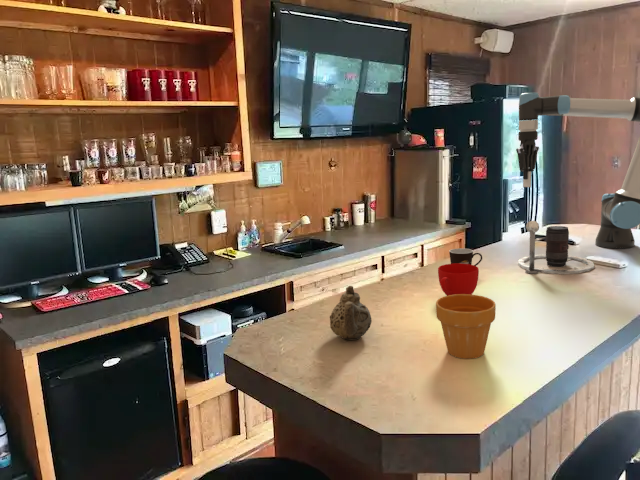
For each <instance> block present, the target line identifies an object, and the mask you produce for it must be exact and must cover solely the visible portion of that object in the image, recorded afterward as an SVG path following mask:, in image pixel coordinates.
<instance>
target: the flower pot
mask: <svg viewBox="0 0 640 480" xmlns="http://www.w3.org/2000/svg"><path fill="white" fill-rule="evenodd" d="M496 306H497V305H496V303H495V301H494V300H492V299H491V298H489V297H486V296H482V295H478V294H472V295H470V294H455V295H449V296H447V295H445V296H442V297H439V298H438V299H437V300H436V301H435V313H436V319H437V320H438V321H439V322H440V324H441V330H442V333H443V337H444V341H445V346H446V349H447V351H448V353H449V354H450V356H453V357H455V358H459V359H466V360H467V359H476V358H480V357H482V356H483V355H484V354H485V351H486V348H487V347H486V346H487V342H488V339H489V338H488V337H489V334H490V330H491V329H490V328H491V325H492V323H493V322H495V319H496Z"/></svg>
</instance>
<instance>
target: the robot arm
mask: <svg viewBox="0 0 640 480" xmlns="http://www.w3.org/2000/svg"><path fill="white" fill-rule="evenodd" d="M539 95H540V94H539V93H538V91H537V92H535V91H534V92H524V93H521V94H520V95H519V101H518V137H517V138H518V140H517V141H519V142H520V144H519V147H517V148H516V150H515V151H516V153H517V159H518V169H519V171H520V172H522V183H523V184H522V187H523V188H531V186H532V172H534V170H535V169H536V163H537V156H538V151H539V150H540V147H539V146H536V140H538V138H539V137H538V136H539V135H538V133H539V132H538V131H537V130H538V129H539V117H540V116H549V117H550V116H551V117H552V116H558V117H560V116H561V117H562V116H563V117H564V116H565V117H581V118H583V117H584V118H585V117H586V118H607V119H608V118H609V119H626V120H627V121H628V122H638V123H640V97H632V98H630V99H611V98H610V99H609V98H581V97H580V98H578V97H576V98H575V97H570V96H569V95H563V94H559V95H552V96H539ZM639 127H640V124H639ZM600 213H601V214H600V228H599V231H598V233H597V236H596V238H595V240H594V241H595V243H594V244H595V246H598V247H601V248H607V249H629V248H634V247H635V237H634V235H633V232H632V229H633V228H635V227H638V226H639V225H640V137H638V141H637V143H636V146H635V150H634V152H633V155H632V158H631V160H630V163H629V166H628V168H627V171H626V174H625V176H624V180H623V182H622V185H621V188H620V189H618V190H617V191H615V193H604V194H603V195H602V196H601V211H600Z"/></svg>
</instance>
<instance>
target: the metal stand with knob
mask: <svg viewBox="0 0 640 480" xmlns="http://www.w3.org/2000/svg"><path fill="white" fill-rule="evenodd" d="M525 227H526V230H527V232H528V233H529V255H528V256H529V260H528V265H529V269H524V270H525V274H527V275H528V274H529V275H536V274H538V273H539V272H538V270H535V269H534V267H535V260H536V259H535V255H536V254H535V251H536V250H535V249H536V242H538V241H542V240H546V238H547V237H546V236H544V237H540V238H536V233H537V232H538V231H540V230H539V229H540V225H539V222H537V221H536V220H529V221H528V222H527V223H526V225H525Z"/></svg>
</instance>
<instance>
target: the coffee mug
mask: <svg viewBox="0 0 640 480" xmlns="http://www.w3.org/2000/svg"><path fill="white" fill-rule="evenodd" d="M448 252H449V260H450V264H456V263H460V264H470V265H473V259H474V257H475V256H476V255H478V256H480V258H479V261H478V262H476V263H475V264H474V266H476V267H477V266H478V265H479V264H480V263H481V262H482V260H483V255H482V254H481V253H479V252H474V250H473V249H470V248H464V247H463V248H461V247H460V248H451V249H449V250H448Z"/></svg>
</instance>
